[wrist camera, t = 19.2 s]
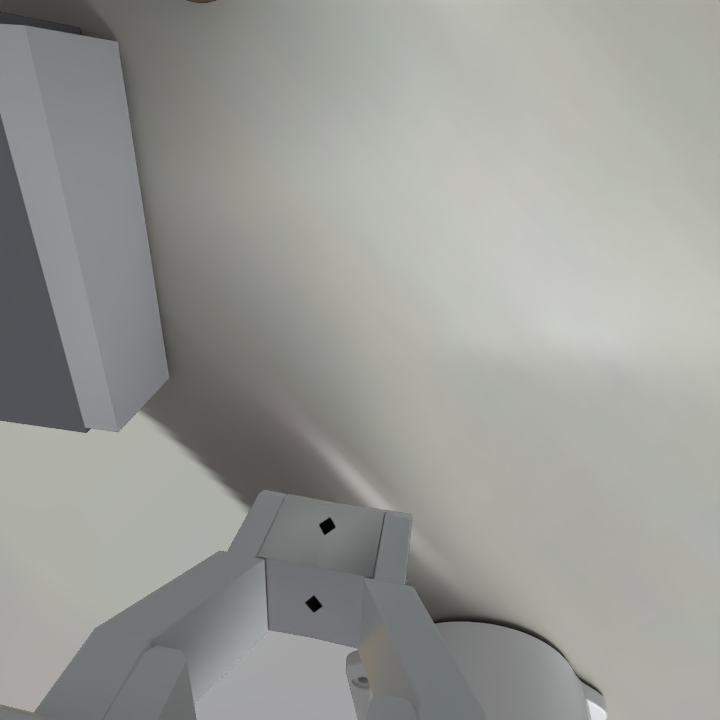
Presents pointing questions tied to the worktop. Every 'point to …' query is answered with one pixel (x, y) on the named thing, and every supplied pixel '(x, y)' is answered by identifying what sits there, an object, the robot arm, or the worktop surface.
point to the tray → (85, 213)
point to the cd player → (29, 307)
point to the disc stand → (201, 1)
